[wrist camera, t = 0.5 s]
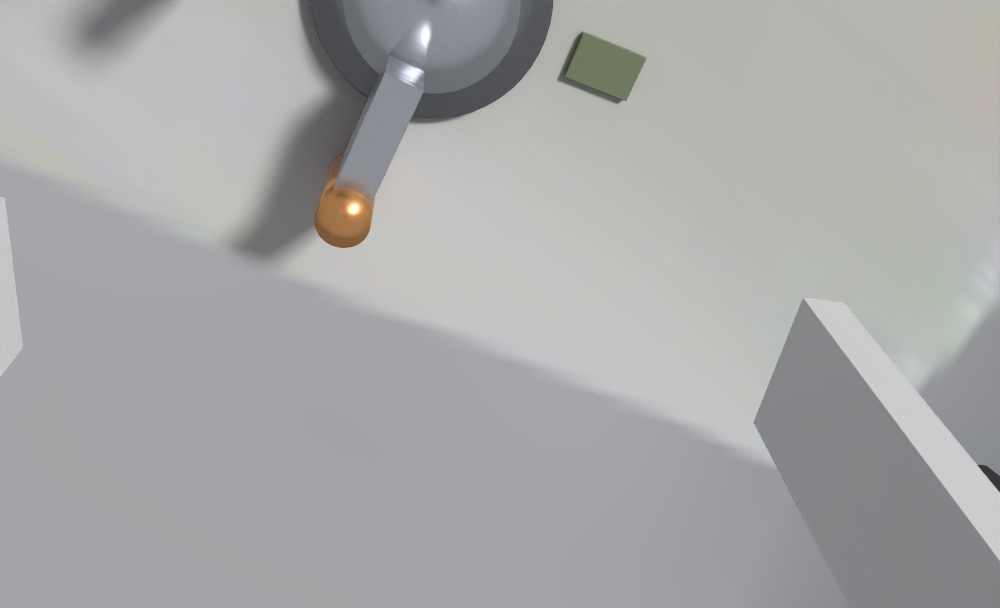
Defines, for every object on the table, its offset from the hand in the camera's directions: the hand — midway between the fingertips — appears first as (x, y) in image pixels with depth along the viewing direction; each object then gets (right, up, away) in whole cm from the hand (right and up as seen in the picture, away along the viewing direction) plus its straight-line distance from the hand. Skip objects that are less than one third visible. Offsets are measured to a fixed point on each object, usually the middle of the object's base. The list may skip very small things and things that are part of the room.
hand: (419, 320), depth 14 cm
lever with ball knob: (-3, +10, +22) cm, 24 cm away
